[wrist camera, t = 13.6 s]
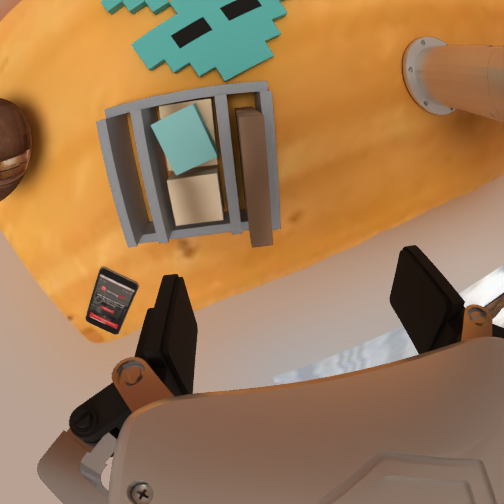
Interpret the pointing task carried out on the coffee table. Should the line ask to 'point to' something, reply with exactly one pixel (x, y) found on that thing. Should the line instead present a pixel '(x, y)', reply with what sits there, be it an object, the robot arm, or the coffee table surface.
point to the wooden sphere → (13, 146)
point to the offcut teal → (185, 139)
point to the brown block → (255, 174)
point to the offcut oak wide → (207, 114)
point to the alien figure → (207, 34)
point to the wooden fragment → (495, 306)
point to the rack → (155, 170)
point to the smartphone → (110, 300)
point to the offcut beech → (196, 195)
